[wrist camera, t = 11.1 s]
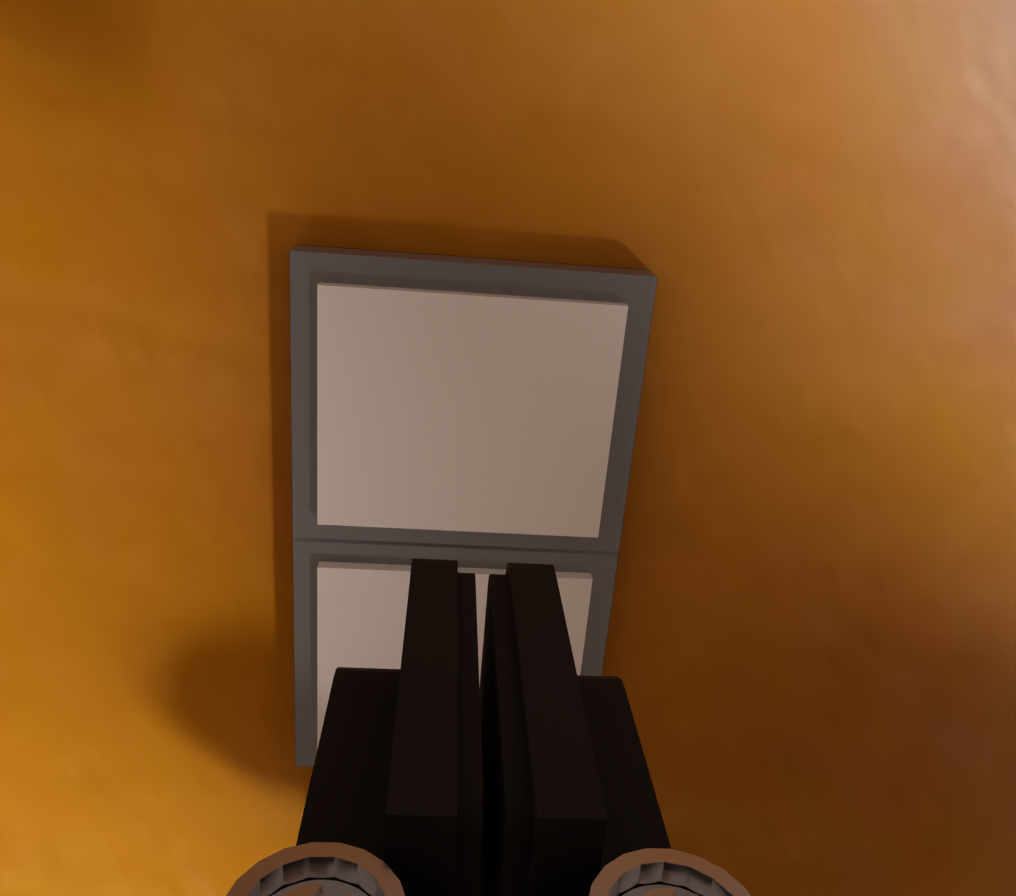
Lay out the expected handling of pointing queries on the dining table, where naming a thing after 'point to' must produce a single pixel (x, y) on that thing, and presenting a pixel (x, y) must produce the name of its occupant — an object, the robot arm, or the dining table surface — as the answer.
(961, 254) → the dining table surface
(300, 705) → the label tile
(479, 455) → the label tile
